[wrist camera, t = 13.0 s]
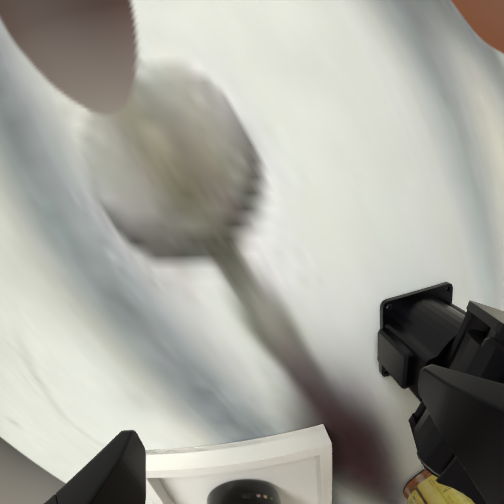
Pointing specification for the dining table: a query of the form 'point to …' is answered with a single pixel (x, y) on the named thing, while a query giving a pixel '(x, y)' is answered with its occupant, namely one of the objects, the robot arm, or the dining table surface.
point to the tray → (245, 468)
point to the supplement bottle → (244, 493)
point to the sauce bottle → (432, 491)
